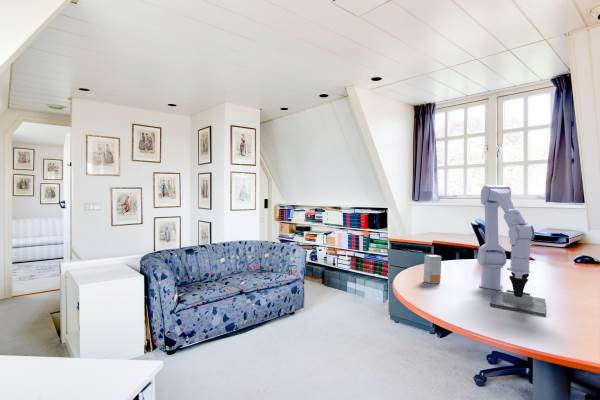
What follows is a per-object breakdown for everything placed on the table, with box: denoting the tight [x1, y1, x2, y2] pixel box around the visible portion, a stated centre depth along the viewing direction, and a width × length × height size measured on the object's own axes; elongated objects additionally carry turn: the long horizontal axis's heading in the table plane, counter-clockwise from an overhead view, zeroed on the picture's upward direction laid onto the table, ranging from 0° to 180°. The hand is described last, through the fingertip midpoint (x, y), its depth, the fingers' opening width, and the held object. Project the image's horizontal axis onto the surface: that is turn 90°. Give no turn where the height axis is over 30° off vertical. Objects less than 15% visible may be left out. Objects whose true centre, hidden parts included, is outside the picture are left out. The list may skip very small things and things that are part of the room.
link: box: [502, 288, 534, 305], centre depth 122 cm, size 9×5×3 cm, turn 54°
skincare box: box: [423, 254, 443, 284], centre depth 149 cm, size 6×4×12 cm
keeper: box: [489, 290, 547, 318], centre depth 122 cm, size 20×16×5 cm
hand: (518, 294), depth 122 cm, fingers open, 7 cm apart
